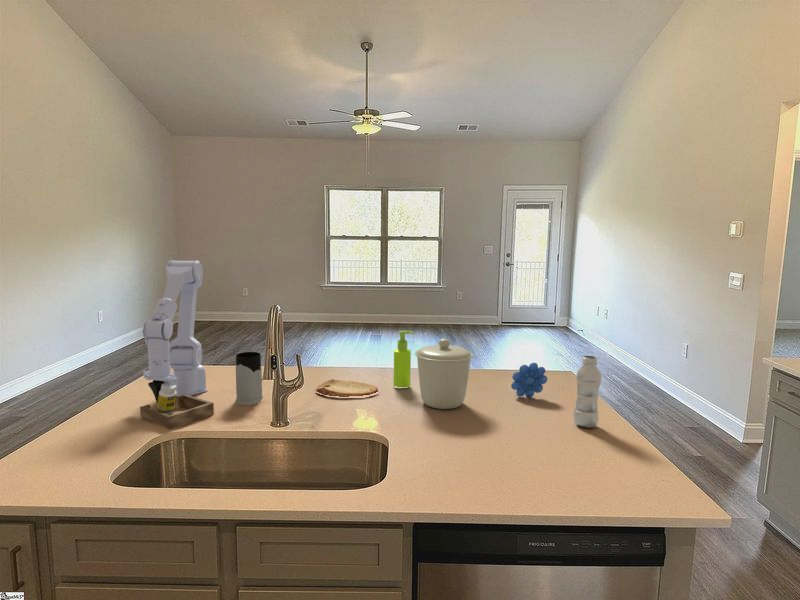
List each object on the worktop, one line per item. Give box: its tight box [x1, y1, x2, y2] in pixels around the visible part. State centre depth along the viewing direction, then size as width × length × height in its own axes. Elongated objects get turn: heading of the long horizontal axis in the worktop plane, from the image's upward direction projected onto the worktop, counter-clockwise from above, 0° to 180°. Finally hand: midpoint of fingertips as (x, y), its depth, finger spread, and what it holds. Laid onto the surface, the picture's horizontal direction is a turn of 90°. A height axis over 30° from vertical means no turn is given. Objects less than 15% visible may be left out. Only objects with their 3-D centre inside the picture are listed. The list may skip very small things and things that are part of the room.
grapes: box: [510, 362, 548, 399], centre depth 164 cm, size 12×7×12 cm, turn 85°
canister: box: [414, 338, 474, 410], centre depth 155 cm, size 18×18×21 cm
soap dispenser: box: [393, 330, 415, 387], centre depth 173 cm, size 6×7×20 cm
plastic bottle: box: [573, 355, 602, 429], centre depth 138 cm, size 6×7×20 cm
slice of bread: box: [315, 378, 379, 397], centre depth 167 cm, size 18×18×4 cm
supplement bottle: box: [156, 383, 177, 415], centre depth 144 cm, size 5×5×8 cm
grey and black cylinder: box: [235, 351, 265, 406], centre depth 159 cm, size 9×14×15 cm, turn 159°
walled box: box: [139, 394, 215, 430], centre depth 142 cm, size 14×14×4 cm
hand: (161, 404), depth 147 cm, fingers closed, pressing on supplement bottle
